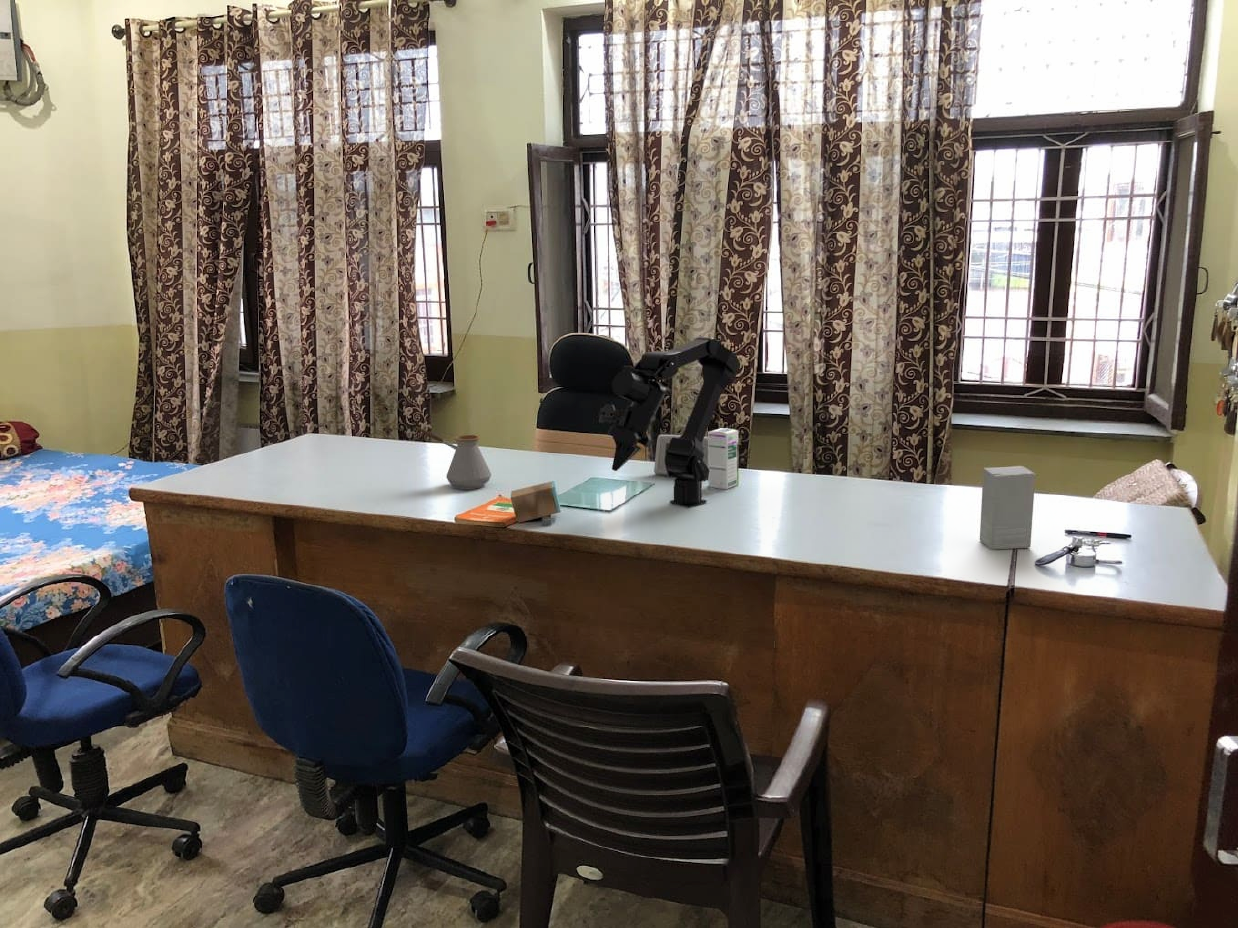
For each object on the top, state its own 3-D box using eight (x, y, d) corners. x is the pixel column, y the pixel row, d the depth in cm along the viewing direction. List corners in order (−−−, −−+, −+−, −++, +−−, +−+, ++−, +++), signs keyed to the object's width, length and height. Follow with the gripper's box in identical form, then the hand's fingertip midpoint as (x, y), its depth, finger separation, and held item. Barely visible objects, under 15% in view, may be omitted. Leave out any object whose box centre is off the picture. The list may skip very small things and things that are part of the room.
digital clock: (650, 475, 263) (650, 436, 261) (667, 469, 270) (667, 431, 268) (704, 482, 254) (704, 442, 252) (720, 475, 262) (720, 436, 260)
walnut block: (554, 480, 224) (511, 491, 224) (554, 487, 218) (510, 497, 218) (560, 505, 225) (517, 515, 225) (560, 512, 219) (517, 522, 219)
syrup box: (727, 489, 246) (727, 433, 243) (707, 486, 249) (707, 430, 246) (738, 485, 250) (739, 429, 247) (719, 482, 254) (719, 427, 251)
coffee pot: (499, 482, 257) (497, 426, 254) (478, 493, 247) (475, 434, 244) (429, 477, 265) (426, 422, 262) (405, 486, 254) (401, 430, 251)
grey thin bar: (550, 511, 229) (550, 506, 228) (551, 525, 217) (551, 520, 217) (542, 511, 228) (542, 506, 228) (542, 525, 217) (542, 520, 216)
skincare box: (1017, 539, 201) (1022, 464, 198) (1032, 550, 194) (1038, 472, 191) (976, 540, 201) (981, 465, 197) (990, 551, 194) (995, 473, 190)
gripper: (621, 394, 228) (592, 454, 230) (602, 388, 210) (571, 454, 211) (663, 415, 226) (634, 475, 227) (648, 411, 208) (616, 477, 209)
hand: (614, 470), depth 219 cm, fingers closed
